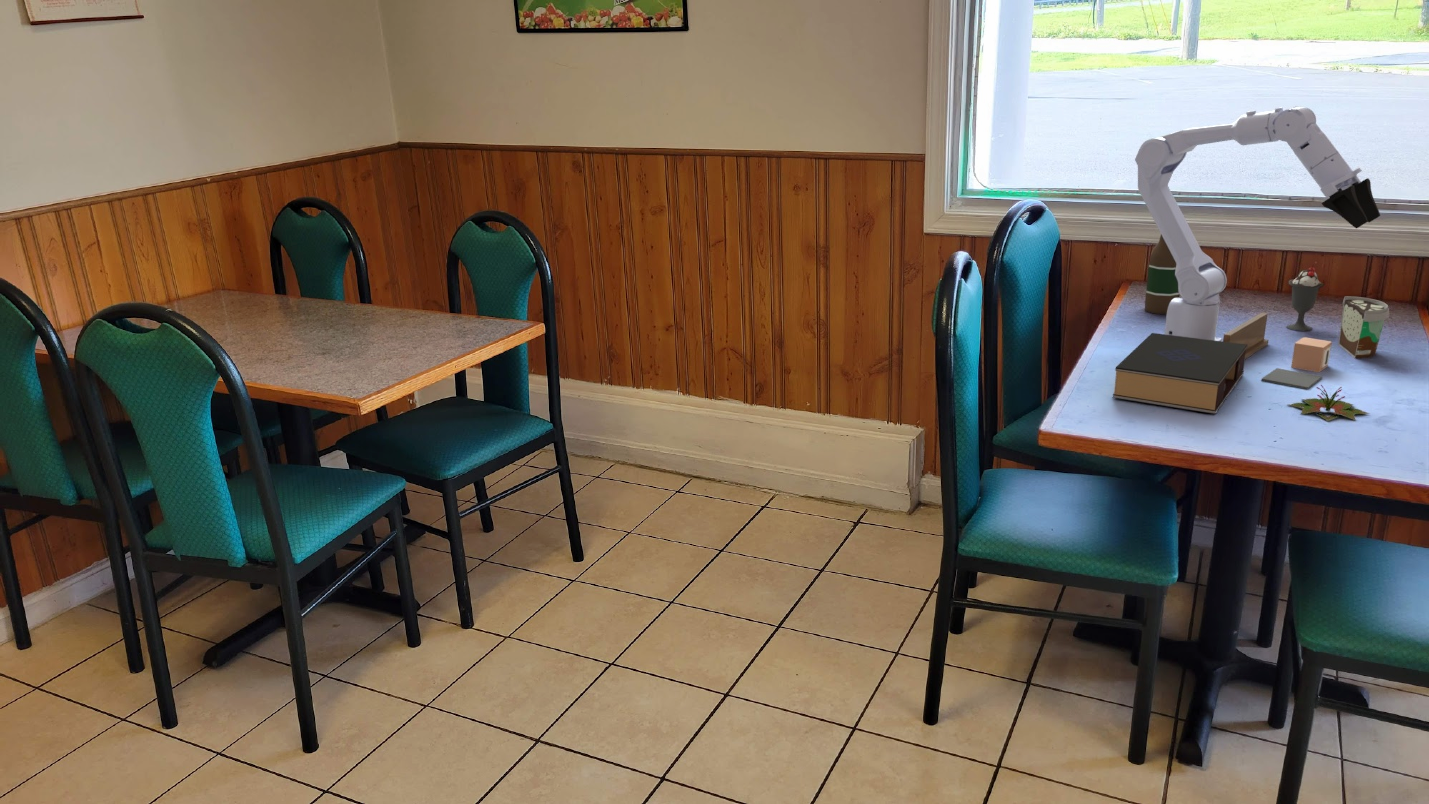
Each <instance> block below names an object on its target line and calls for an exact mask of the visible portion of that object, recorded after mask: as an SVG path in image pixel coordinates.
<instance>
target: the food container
mask: <svg viewBox="0 0 1429 804" xmlns="http://www.w3.org/2000/svg"><path fill="white" fill-rule="evenodd" d="M1341 314H1342V315H1341V321H1340V322H1341V323H1340V328H1339V337H1338V344H1337V345H1338V346H1339V347H1341V348H1342V349H1343V350H1344V351H1346V352H1347V353H1348V355H1350V356H1351V357H1352V358H1354V359H1368V358H1372V357H1374V356H1376V353H1377V349H1378V345H1379V342H1380V338H1381V334H1382V331H1383V326H1384V324H1385V320H1387V319H1389V318H1390V308H1389V305H1388V304H1387V303H1385V302H1384V301H1381V300H1377V299H1373V298H1369V297H1361V296H1348V295H1347V296H1344V298H1343V301H1342V313H1341Z"/></svg>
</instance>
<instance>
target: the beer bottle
mask: <svg viewBox="0 0 1429 804" xmlns="http://www.w3.org/2000/svg"><path fill="white" fill-rule="evenodd" d="M1149 257H1150V258H1149V262H1148V269H1147V279H1146V280H1147V281H1146V287H1145V288H1146V289H1145V291H1146V292H1145V299H1144V300H1145V301H1144V312H1148V313H1150V314H1151V313H1152V314H1153V315H1154V314H1155V315H1167V310H1168V306H1169V304H1170V302H1171V300H1172V299H1173V298H1180V297H1181V296H1180V294H1179V290H1178V280H1177V278H1176V276H1175V271H1176V265H1177V264H1176V261H1175V260H1174V258H1173V256H1172V254H1171V252H1170V250H1169V248H1168V246H1167V244H1166V242H1165V240H1164V238H1163V236H1162V235H1161V234H1160V237H1159V241H1158V242H1157V243H1156V244H1155V246H1154V247H1153V249H1152V251H1151V253H1150V256H1149Z"/></svg>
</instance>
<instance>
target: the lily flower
mask: <svg viewBox="0 0 1429 804" xmlns="http://www.w3.org/2000/svg"><path fill="white" fill-rule="evenodd" d="M1320 386H1321V388H1323V390H1322V389H1321V388H1320V387H1318V386H1316V387H1315V389H1317V390H1320V391H1321V393H1320V394H1321V395H1320V394H1316V396H1317V397H1319V398H1316V397H1315V398H1306V399H1302V398H1301V401H1304V402H1295V403H1291V404H1288V406H1289V407H1295V408H1299V409H1301V413H1300V415H1306V414H1311V413H1315V412H1316V413H1315V414H1316V415H1317V416H1320V417H1321V418H1322V419H1324V420H1326V421H1327V422H1329V421H1332V420H1333V419H1337V418H1340V416H1343V417H1346V418H1349V419H1351V420H1353V421H1356V417H1355V415H1358V414H1361V415H1362V414H1368V415H1369V414H1371V413H1370V412H1366V411H1364V410H1362V409H1359V408H1353V407H1352V406H1353V405H1355V404H1353V403H1349V402H1346V401H1343V400H1342V399H1344V398H1346V396H1341V397H1340V398H1338V399H1337V400H1335V399H1336V398H1337V397H1339V396H1340V394H1338V393H1340V392H1341V391H1342V390H1343V389H1342V386H1340V387H1339V388H1338V389H1337V390H1336V391H1335V392H1334V393H1333V394H1332V395H1331V393H1329V395H1328V393H1327V390H1326V389H1325V388H1324V386H1323V385H1322V384H1320ZM1322 396H1323V397H1322ZM1329 396H1330V397H1329ZM1351 407H1352V408H1351ZM1321 408H1323V409H1325V411H1327V412H1328V413H1331V414H1332V412H1330V411H1331V409H1332V410H1334V412H1333V414H1332V415H1329V416H1327V415H1325V414H1324V413H1323V411H1322V410H1321Z"/></svg>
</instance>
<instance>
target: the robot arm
mask: <svg viewBox="0 0 1429 804" xmlns="http://www.w3.org/2000/svg"><path fill="white" fill-rule="evenodd" d="M1232 140H1234V141H1235V142H1236V143H1238V144H1240V146H1249V145H1256V144H1257V145H1259V144H1266V143H1273V142H1278V141H1280V142H1281V141H1282V142H1286V143H1287V145H1288V146H1289V148H1290V149H1291V150H1292V152H1293V153H1294V155H1295V156H1296V157H1297V158H1298V160H1299V162H1300V163H1301V164H1302V165H1303V166H1304V168H1305V169H1306V170H1307V172H1308V173H1309V175H1310V176H1311V178H1312V179H1313V180H1314V181H1315V183H1316V184H1317V185H1318V186H1319V188H1320V192H1321V193H1322V194H1323V196H1324V197H1325V198H1327V199H1325V200H1324V201H1322V203H1321V205H1322V206H1323V208H1326V209H1328V210H1331V211H1333V212H1334V213H1336V214H1337V215H1338V216H1340V217H1342V218H1343V219H1344V220H1345V221H1346V222H1347V223H1348V224H1350V225H1351V226H1352V227H1354V228H1355V229H1359V228H1360V227H1361V226H1363V225H1365V224H1366V223H1371V222H1374V220H1376V219H1378V218H1379V217H1381V213H1380V211H1379V208H1378V206H1377V204H1376V201H1375V198H1374V196H1373V193H1372V186H1371V184H1372V183H1371V180H1370V178H1365V179H1363V180H1362V181H1361V180H1360V178H1359V176H1358V174H1359V173H1362V169H1361V168H1360V167H1358V168H1356V169H1354V170H1352V168H1351V166H1350V165H1349V164H1348V163H1347V161H1346V160H1345V159H1344V157H1343V156H1342V154H1340V152H1339V151H1338V150H1337V148H1336V146H1334V144H1333V143H1332V142H1331V140H1330V139H1329V138H1328V137H1327V135H1326V134H1325V133H1324V132H1323V131H1322V130H1321V128H1320V127H1319V125H1318V124H1317V117H1316V114H1315V113H1314V111H1313V110H1312V109H1310V108H1308V107H1304V106H1293V107H1291V108H1289V109H1285V110H1283V107H1275V109H1274V110H1271V111H1264V112H1257V110H1249V111H1246V113H1245V114H1242V115H1240V116H1239V117H1238V118H1237V119H1236V121H1234V122H1233V123H1227V124H1218V125H1208V126H1201V127H1200V126H1199V127H1190V128H1186V129H1182V130H1181V129H1180V130H1178V131H1175V132H1172V133H1168V134H1164V135H1161V136H1160V137H1155V138H1149V139H1147V140H1145V141H1144V142H1143V143H1142V144H1140V147H1139V149H1138V152H1137V154H1136V156H1135V158H1134V161H1135V163H1136V165H1137V189H1138V190H1137V191H1138V192H1139V194H1140V195H1141V199H1143V202H1144V204H1145V206H1146V207H1147V210H1148V212H1149V213H1150V215H1151V217H1152V219H1153V221H1154V223H1155V225H1156V227H1157V228H1158V230H1159V233H1160V236H1161V235H1162V236H1163V238H1164V240H1165V242H1166V244H1167V246H1168V248H1169V250H1170V252H1171V254H1172V256H1173V258H1174V260H1175V261H1176V264H1177V265H1176V271H1175V276H1176V278H1177V280H1178V290H1179V294H1180V296H1179V298H1173V299H1172V300H1171V302H1170V304H1169V306H1168V310H1167V314H1166V317H1165V328H1164V334H1166V335H1174V336H1182V337H1190V338H1198V339H1206V340H1214V341H1222V342H1223V338H1222V337H1218V336H1217V337H1216V333H1217V325H1218V318H1219V310H1220V302H1221V299H1220V293H1222V292H1223V291H1224V289H1225V288H1226V286H1227V282H1228V281H1227V275H1226V273H1225V271H1224V270H1223V269H1222V268H1220V267H1219V266H1217V264H1216V263H1215V262H1214V260H1213V258H1212V257H1210V256H1209V255H1208V254H1206V253H1205V252H1204V251H1203V250H1202V248H1201V246H1200V244H1199V242H1198V241H1197V239H1196V236H1195V235H1194V233H1193V231H1192V229H1191V228H1190V225H1189V224H1188V222H1187V220H1186V218H1185V216H1184V214H1183V212H1182V210H1181V208H1180V206H1179V204H1178V202H1177V201H1176V199H1175V196H1174V195H1173V192H1172V191H1171V189H1170V187H1169V183H1170V180H1171V178H1172V175H1173V173H1174V171H1175V170H1176V169H1177V168H1178V166H1179V165H1180V164H1181V163H1182V162H1183V160H1185V158H1186V156H1187V154H1188V153H1189V152H1192V151H1194V149H1196V148H1197V146H1201V145H1208V144H1213V143H1221V142H1227V141H1232Z"/></svg>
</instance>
